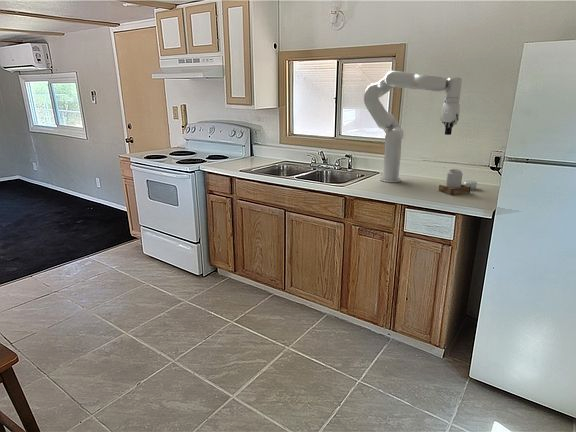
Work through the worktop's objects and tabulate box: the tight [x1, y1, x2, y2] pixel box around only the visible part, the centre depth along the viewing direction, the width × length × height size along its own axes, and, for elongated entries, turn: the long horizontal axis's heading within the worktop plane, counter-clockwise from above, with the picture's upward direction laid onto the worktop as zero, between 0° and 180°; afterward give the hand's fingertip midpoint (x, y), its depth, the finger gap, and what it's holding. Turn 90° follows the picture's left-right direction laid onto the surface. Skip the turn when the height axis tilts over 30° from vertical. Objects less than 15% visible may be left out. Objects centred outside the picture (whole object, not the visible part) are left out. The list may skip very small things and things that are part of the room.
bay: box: [438, 183, 472, 196], centre depth 214 cm, size 10×12×4 cm
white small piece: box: [462, 179, 478, 191], centre depth 220 cm, size 7×7×4 cm
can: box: [445, 168, 464, 188], centre depth 214 cm, size 8×8×12 cm
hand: (447, 134), depth 222 cm, fingers closed
